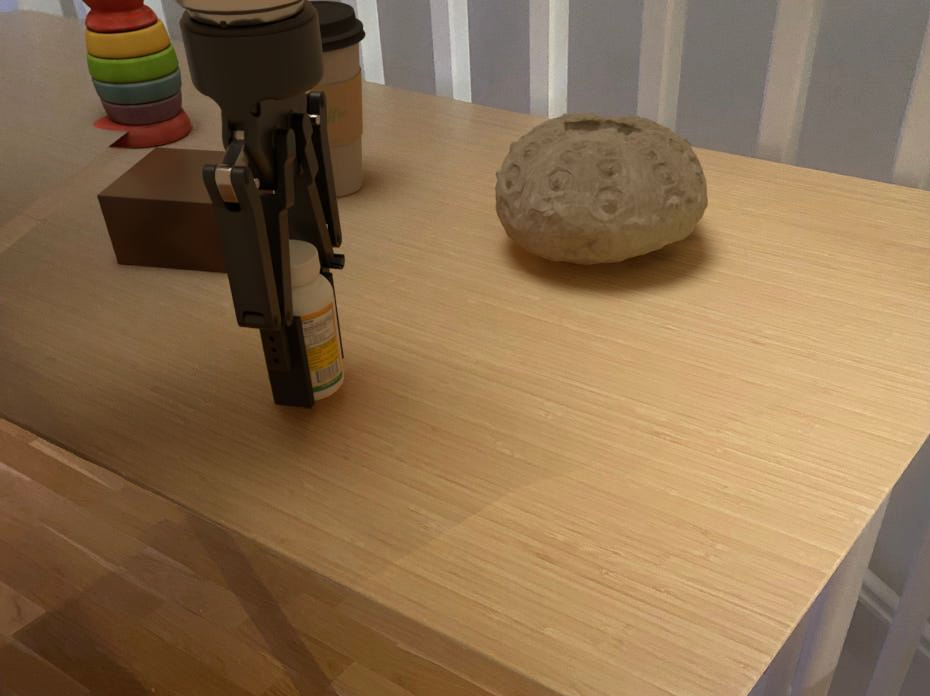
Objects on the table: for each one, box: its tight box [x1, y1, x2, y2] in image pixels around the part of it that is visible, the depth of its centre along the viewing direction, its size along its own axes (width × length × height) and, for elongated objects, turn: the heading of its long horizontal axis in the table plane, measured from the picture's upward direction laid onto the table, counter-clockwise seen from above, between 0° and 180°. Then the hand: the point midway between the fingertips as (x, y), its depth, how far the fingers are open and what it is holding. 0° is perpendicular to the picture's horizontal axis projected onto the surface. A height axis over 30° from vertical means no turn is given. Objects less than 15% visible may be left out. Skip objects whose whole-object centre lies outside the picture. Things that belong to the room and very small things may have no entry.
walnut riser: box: [96, 146, 275, 273], centre depth 88 cm, size 11×11×6 cm
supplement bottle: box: [258, 240, 345, 401], centre depth 67 cm, size 5×5×10 cm
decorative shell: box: [494, 112, 709, 266], centre depth 83 cm, size 18×18×10 cm
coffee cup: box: [308, 0, 366, 198], centre depth 93 cm, size 9×9×15 cm
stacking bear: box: [81, 0, 192, 149], centre depth 104 cm, size 11×10×18 cm
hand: (310, 379), depth 70 cm, fingers closed on supplement bottle, 5 cm apart
